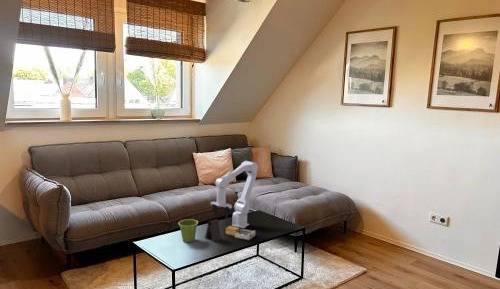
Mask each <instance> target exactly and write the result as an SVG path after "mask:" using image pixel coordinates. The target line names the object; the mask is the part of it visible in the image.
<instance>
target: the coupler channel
mask: <svg viewBox="0 0 500 289" xmlns="http://www.w3.org/2000/svg"><path fill="white" fill-rule="evenodd" d="M255 236H256V230H249V229H245V228H239V233H235V236H234V238H236V239H242V240H247V241H250V240H252V239H253V238H254V237H255Z"/></svg>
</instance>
